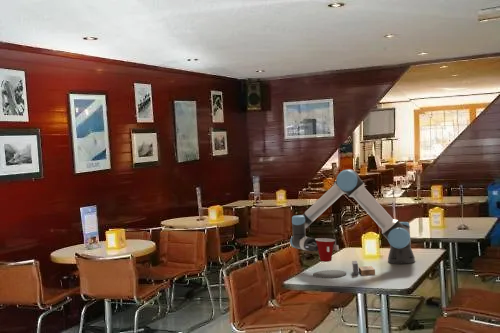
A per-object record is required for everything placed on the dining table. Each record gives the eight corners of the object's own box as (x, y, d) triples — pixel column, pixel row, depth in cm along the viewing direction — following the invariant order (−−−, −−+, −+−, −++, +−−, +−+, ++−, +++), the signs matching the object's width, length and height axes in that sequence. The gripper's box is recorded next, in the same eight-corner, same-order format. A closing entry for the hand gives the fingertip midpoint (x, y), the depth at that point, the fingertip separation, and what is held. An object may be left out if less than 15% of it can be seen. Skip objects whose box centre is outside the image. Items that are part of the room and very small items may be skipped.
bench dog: (357, 271, 306) (356, 260, 306) (358, 274, 298) (357, 263, 298) (353, 271, 306) (352, 261, 306) (353, 275, 298) (353, 263, 298)
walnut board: (371, 271, 307) (371, 265, 306) (375, 275, 297) (374, 269, 296) (358, 272, 307) (358, 266, 307) (362, 276, 297) (361, 270, 297)
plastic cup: (336, 262, 297) (335, 239, 297) (316, 263, 298) (315, 240, 298) (336, 258, 307) (335, 237, 307) (316, 259, 309) (315, 237, 309)
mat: (345, 270, 312) (345, 269, 312) (347, 277, 294) (347, 276, 294) (313, 271, 314) (313, 270, 314) (312, 278, 296) (312, 277, 296)
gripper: (295, 239, 315) (318, 243, 295) (321, 235, 324) (346, 239, 303) (295, 252, 315) (319, 258, 295) (322, 248, 324) (347, 253, 304)
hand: (333, 248), depth 299 cm, fingers closed on plastic cup, 5 cm apart
